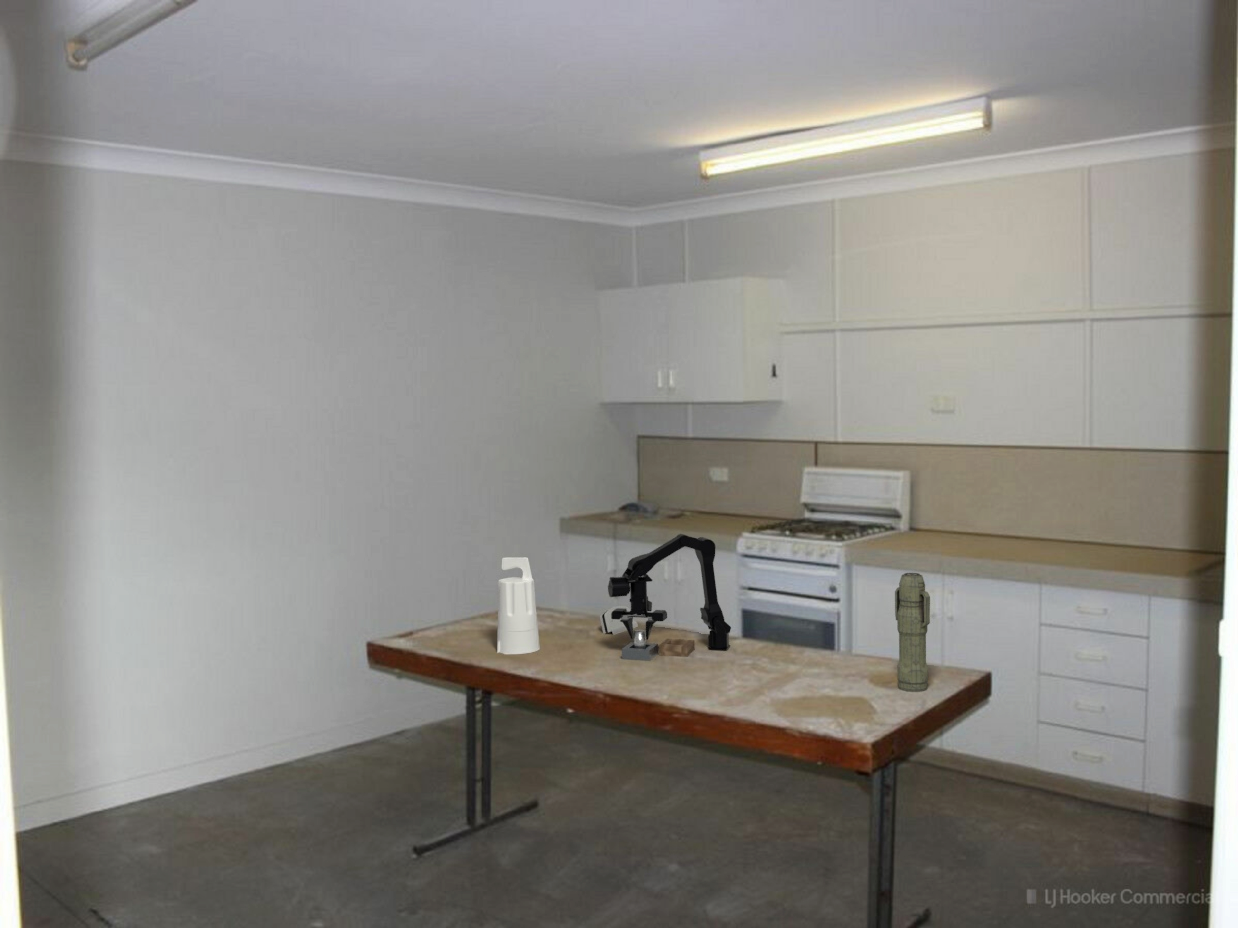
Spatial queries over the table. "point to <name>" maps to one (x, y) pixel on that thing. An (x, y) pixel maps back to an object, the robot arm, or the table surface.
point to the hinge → (613, 622)
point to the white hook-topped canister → (517, 610)
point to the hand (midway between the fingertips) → (639, 639)
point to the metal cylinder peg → (639, 639)
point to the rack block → (640, 652)
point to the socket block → (676, 647)
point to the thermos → (912, 632)
